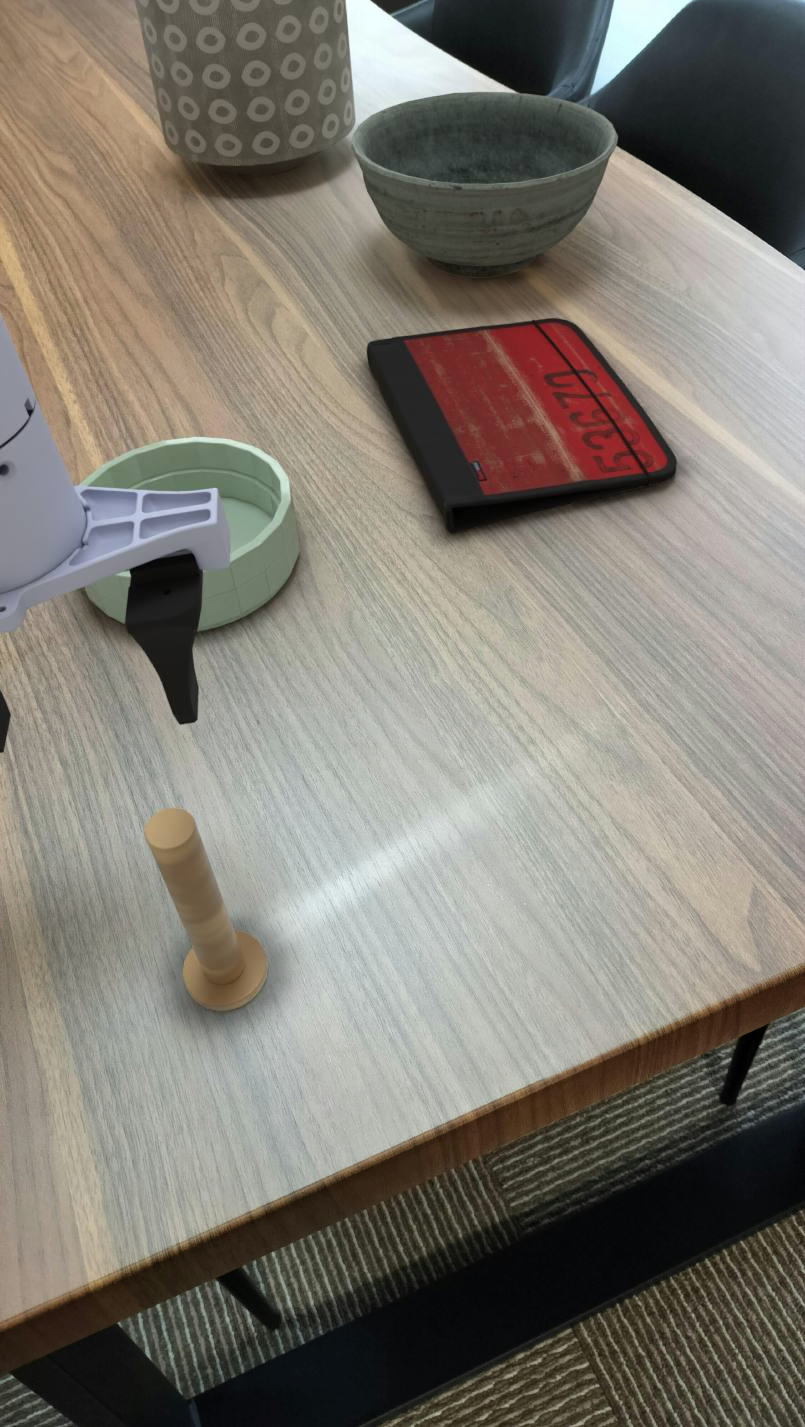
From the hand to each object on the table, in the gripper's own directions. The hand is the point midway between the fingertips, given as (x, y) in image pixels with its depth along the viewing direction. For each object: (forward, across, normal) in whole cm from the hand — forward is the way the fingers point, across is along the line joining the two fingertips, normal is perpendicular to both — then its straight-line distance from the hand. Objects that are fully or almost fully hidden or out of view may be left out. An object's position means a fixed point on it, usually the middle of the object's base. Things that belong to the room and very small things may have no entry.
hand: (94, 719), depth 41 cm
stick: (+11, +3, -6) cm, 13 cm away
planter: (+10, +6, +84) cm, 85 cm away
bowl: (+12, +24, +58) cm, 64 cm away
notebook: (+12, +22, +33) cm, 42 cm away
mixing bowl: (+10, +1, +22) cm, 24 cm away
